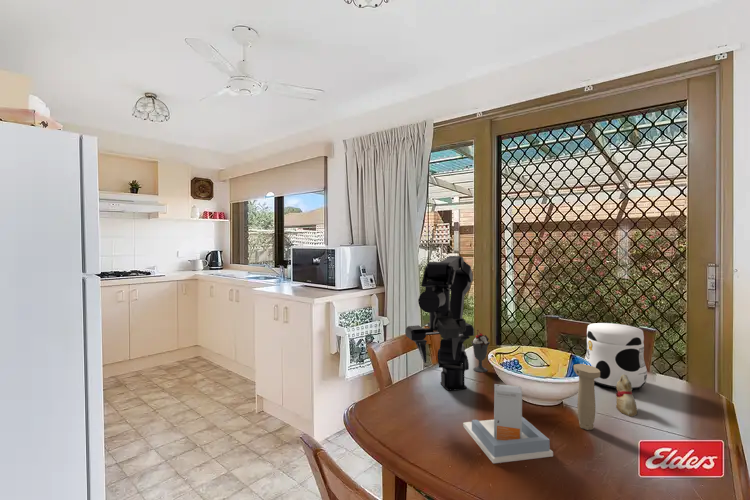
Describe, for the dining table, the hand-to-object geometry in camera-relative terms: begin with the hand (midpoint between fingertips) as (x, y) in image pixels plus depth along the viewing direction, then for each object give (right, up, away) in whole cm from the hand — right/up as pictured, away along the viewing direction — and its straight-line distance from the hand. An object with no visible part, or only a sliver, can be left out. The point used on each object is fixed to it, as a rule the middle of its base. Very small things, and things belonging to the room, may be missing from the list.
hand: (440, 361), depth 107 cm
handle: (+34, -13, -12) cm, 39 cm away
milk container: (+59, -12, +16) cm, 62 cm away
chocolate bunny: (+51, -13, -3) cm, 52 cm away
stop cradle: (+12, -13, -18) cm, 25 cm away
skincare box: (+12, -13, -19) cm, 26 cm away
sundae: (+20, -12, +29) cm, 37 cm away
